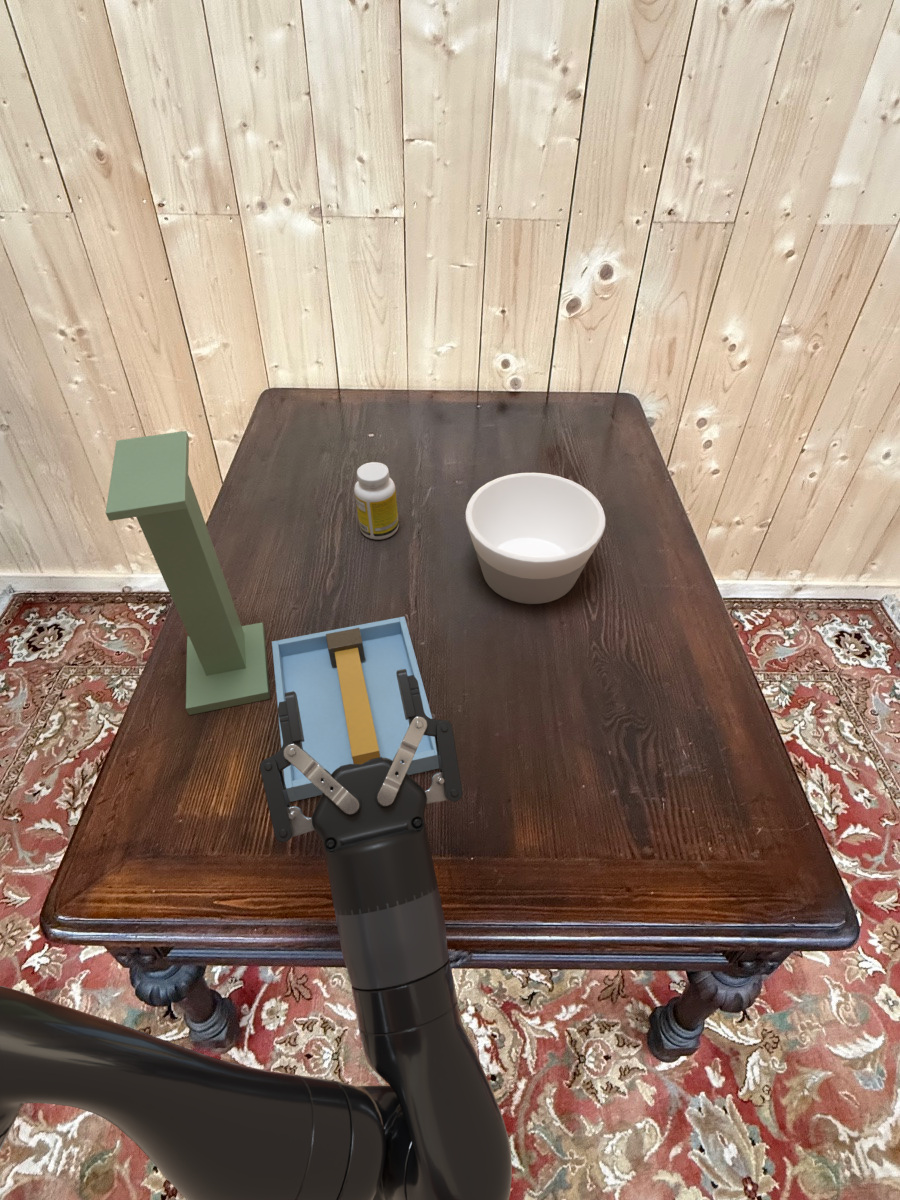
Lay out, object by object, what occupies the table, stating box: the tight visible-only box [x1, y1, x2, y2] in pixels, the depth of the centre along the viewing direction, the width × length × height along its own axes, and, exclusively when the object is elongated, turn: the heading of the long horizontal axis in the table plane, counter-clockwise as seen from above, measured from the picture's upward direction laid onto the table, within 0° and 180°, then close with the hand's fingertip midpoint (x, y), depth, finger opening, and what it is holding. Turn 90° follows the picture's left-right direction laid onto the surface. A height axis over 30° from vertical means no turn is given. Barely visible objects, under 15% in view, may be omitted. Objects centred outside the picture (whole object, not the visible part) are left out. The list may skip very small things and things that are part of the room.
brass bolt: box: [326, 628, 380, 764], centre depth 83 cm, size 4×20×3 cm, turn 14°
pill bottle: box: [353, 461, 400, 541], centre depth 106 cm, size 6×6×11 cm
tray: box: [271, 616, 439, 803], centre depth 85 cm, size 18×22×3 cm
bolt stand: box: [105, 430, 271, 716], centre depth 79 cm, size 10×12×32 cm
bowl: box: [465, 472, 607, 605], centre depth 99 cm, size 19×19×11 cm
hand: (346, 681), depth 53 cm, fingers open, 8 cm apart
